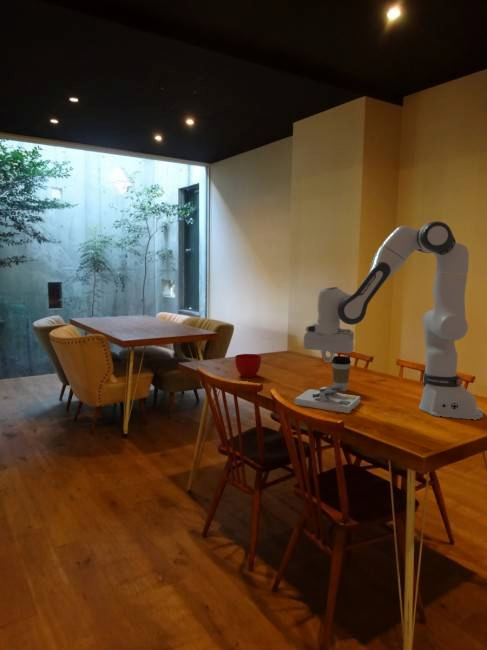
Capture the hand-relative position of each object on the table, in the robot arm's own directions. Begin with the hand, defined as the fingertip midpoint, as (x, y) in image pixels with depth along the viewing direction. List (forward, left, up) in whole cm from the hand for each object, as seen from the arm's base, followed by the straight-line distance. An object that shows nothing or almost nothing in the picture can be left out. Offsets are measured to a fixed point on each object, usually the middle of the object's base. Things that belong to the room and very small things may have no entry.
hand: (327, 361), depth 185 cm
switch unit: (-1, +2, -17) cm, 17 cm away
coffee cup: (+1, -21, -17) cm, 27 cm away
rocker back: (-1, -2, -12) cm, 12 cm away
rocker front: (-1, +6, -12) cm, 13 cm away
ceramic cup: (+50, -24, -17) cm, 58 cm away
